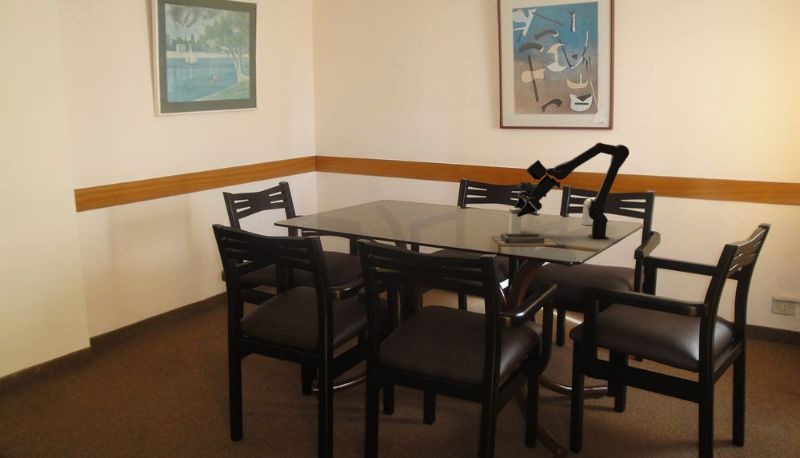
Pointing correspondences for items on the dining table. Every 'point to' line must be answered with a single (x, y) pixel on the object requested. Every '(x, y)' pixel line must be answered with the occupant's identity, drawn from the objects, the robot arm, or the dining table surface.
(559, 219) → the dining table surface
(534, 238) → the brown flat board
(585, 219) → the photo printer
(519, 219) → the cream square-faced block
